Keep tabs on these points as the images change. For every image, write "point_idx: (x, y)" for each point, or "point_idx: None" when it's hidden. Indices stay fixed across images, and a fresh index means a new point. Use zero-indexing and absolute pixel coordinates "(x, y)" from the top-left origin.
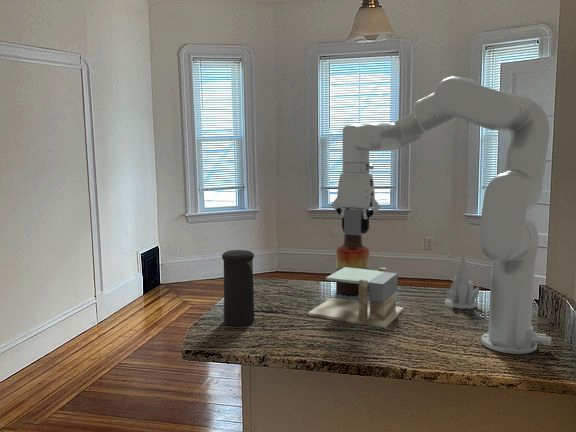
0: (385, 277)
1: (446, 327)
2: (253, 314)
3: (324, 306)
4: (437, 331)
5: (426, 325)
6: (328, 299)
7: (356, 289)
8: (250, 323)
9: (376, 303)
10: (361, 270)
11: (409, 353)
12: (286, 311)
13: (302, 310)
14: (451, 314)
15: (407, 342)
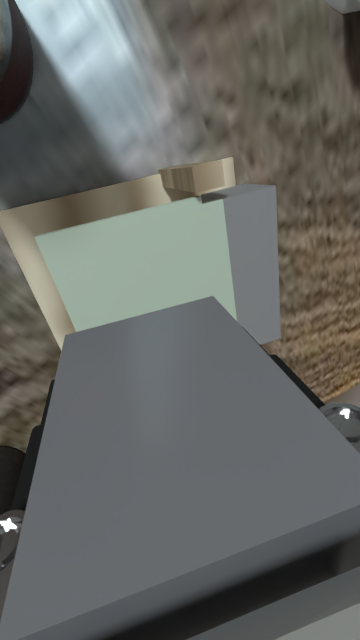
0: (259, 272)
1: (346, 218)
2: (20, 467)
3: (57, 300)
4: (334, 254)
5: (309, 235)
6: (7, 239)
7: (16, 100)
8: None
9: None
10: (136, 242)
11: (313, 366)
12: (3, 372)
13: (25, 342)
14: (346, 105)
15: (300, 336)
